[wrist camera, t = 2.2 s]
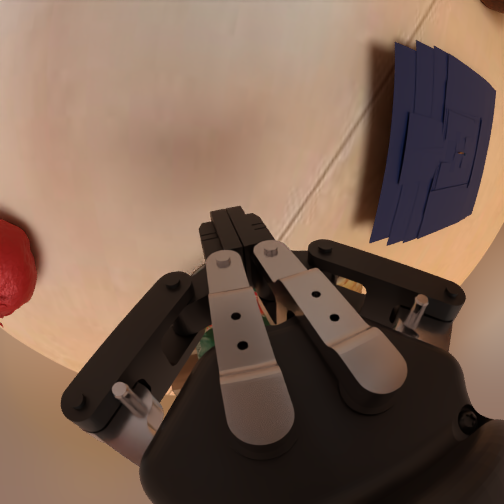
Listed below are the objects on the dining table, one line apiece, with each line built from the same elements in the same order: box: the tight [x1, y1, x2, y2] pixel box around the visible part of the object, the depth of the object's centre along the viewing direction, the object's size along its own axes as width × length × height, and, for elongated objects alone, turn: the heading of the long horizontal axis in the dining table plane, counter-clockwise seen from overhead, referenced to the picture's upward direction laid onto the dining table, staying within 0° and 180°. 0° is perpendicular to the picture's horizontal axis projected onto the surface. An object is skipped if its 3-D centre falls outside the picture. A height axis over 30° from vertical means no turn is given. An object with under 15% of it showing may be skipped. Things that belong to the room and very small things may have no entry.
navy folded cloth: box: [369, 40, 496, 246], centre depth 26 cm, size 24×30×4 cm
